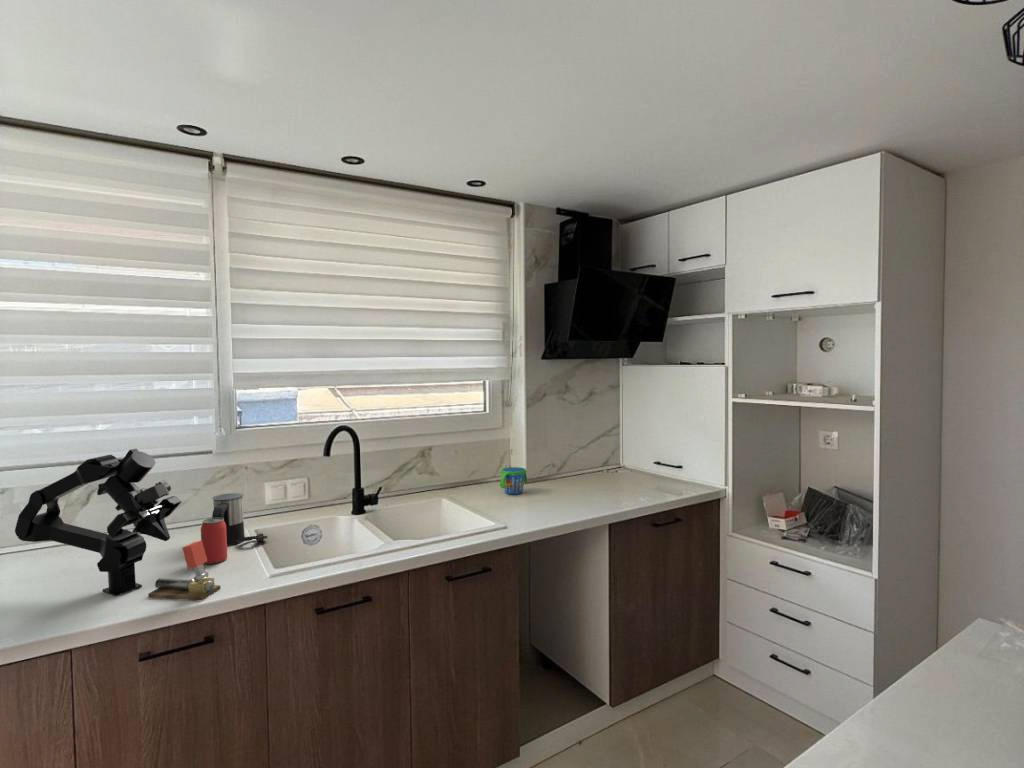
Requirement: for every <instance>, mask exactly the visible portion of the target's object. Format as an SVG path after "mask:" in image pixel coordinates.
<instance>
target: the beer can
mask: <svg viewBox="0 0 1024 768" xmlns="http://www.w3.org/2000/svg"><path fill="white" fill-rule="evenodd" d="M201 540H202V543H203V547H204V550H205V554H206V557H207V562H205V563H206V564H205V563H204V564H205V565H215V564H220V563H222V562H224V561H225V560H227V558H228V545H227V535H226V524H225V522H224V519H223V518H220V517H217V518H212V517H210V518H206V519H203V520H202V524H201V527H200V541H201Z"/></svg>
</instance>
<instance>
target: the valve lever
mask: <svg viewBox="0 0 1024 768" xmlns="http://www.w3.org/2000/svg"><path fill="white" fill-rule="evenodd" d="M181 548H182V553H183V555H184V559H185V563H186V566H187V569H188V570H190V569H193V571H194V574H195V576H194V577H193V579H194V581H195V582H199V581H201V580H203V579H205V578H209V572H208V571H207V570H205V567H204V564H205V562H207V557H206V554H205V550H204V547H203V543H202V540H201V539H200V540H198V541H194V542H192V543H189V544H186V545H185V546H182V547H181Z"/></svg>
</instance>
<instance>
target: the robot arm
mask: <svg viewBox="0 0 1024 768" xmlns="http://www.w3.org/2000/svg"><path fill="white" fill-rule="evenodd" d="M155 465H156V460H155V458H154V456H152V455H150V454H148V453H146V452H144V451H139V450H138V449H137V448H132V449H129V450H128V451H127V453H126V454H125V456H124V457H123V458H122V459H121V458H117V457H116V456H114V455H113V454H107V455H101V456H97V457H93V458H89V459H86V460H85V461H83V462H82V463H81V464H79V466H77V467H76V469H75V470H74V472H72V473H70V474H67V475H66V476H64V477H63V478H61V479H59V480H56V481H55V482H52V483H51V484H49V485H46V486H45V487H43V488H41V489H40V488H39V489H38V490H35V491H33V492H32V493H31V494H30V496H29V497H28V498H29V499H28V503H27V504H26V505H25V506H24V508H23V509H22V510H21V511H20V513H19V515H18V517H17V521H16V524H15V527H14V528H15V529H14V533H15V535H16V537H17V538H18V539H19V540H20V541H21V542H32V543H36V542H47V541H49V542H56V543H59V544H63V545H66V546H72V547H76V548H80V549H82V550H87V551H91V552H94V553H97V554H100V556H101V559H100V560H99V561H98V562H97V564H96V566H97V568H98V571H99V572H100V573H103V572H104V573H107V579H108V581H107V583H108V587H105V588H102V593H106V594H109V595H111V596H115V597H116V596H120V595H123V594H126V593H129V592H131V591H134V590H138V589H140V588H142V587H143V585H142V584H140V583H138V582H136V565H135V564H136V563H138V562H141V561H142V560H143V557H144V554H145V552H146V551H147V542H146V540H145V537H144V536H143V535H146V536H149V537H152V538H155V539H158V540H161V541H163V542H167V541H169V540H170V539H171V536H170V533H169V530H168V527H167V524H166V521H165V518H168V517H170V515H172V513H174V512H175V510H176V509H177V508H178V507H179V506H180V505H181V504H182V500H181V499H180V498H179V497H178V495H177V496H176V495H175V496H173V495H172V496H169V495H170V492H171V490H172V487H171V485H170V484H169V483H168V482H167V480H165V479H163V480H160V481H159V482H157V483H155V484H154V485H153V486H151V487H148V488H144V487H143V488H139V486H137V485H136V483H140V482H141V481H142V480H143V479H144V478H145V477H146V476H147V475H148V473H149V472H151V470H152V469H153V468H154V467H155ZM105 479H106V480H105ZM100 480H101V481H102V480H105V482H103V483H98V488H97V492H96V494H97V496H102V495H105V494H107V495H108V496H109V497H110V498H111V499H112V500H113V501H114V503H116V506H115V510H117V511H118V512H119V511H123V512H121V513H119V514H117V515H115V517H114V519H112V521H111V522H110V523H109V524H108V525H107V526H106V531H107V533H105V532H101V531H96V530H92V529H89V528H84V527H81V526H77V525H73V524H68V523H65V522H64V521H63V519H62V517H60V513H61V509H60V506H59V499H60V498H62V497H64V496H67V495H68V494H70V493H73V492H75V491H77V490H79V489H81V488H82V487H84V486H86V485H88V484H90V483H94V482H97V481H100ZM165 496H169V497H166V498H163V497H165ZM161 498H163V499H162V500H161V501H160V500H159V499H161ZM44 505H46V511H45V512H42V513H39V512H40V511H41V509H42V508H43V506H44ZM155 505H156V506H155ZM38 513H39V514H38ZM130 525H133V527H134V528H133V529H132V530H131V531H130V530H128V529H124V527H127V526H130ZM140 534H142V535H140Z"/></svg>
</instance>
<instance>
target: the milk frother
mask: <svg viewBox="0 0 1024 768" xmlns="http://www.w3.org/2000/svg"><path fill="white" fill-rule="evenodd" d="M244 496H245V495H244V493H240V492H235V493H234V492H231V493H230V492H229V493H221V494H218V495H215V496H213V497H211V499H212V500H213V511H212V514H211V515H212V517H211V518H217V517H220V518H223V519H224V522H225V524H226V535H227V546H231V545H237V544H239V543H242V542H247V541H248V542H249V541H253V540H252V539H256V540H255V541H256V542H257V541H259V542H258V543H263V542H264V539H265V540H266V539H268V535H264V533H257V535H252V536H251V535H250V536H245V527H244V526H245V524H244V521H245V520H244V499H243V498H244Z"/></svg>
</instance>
